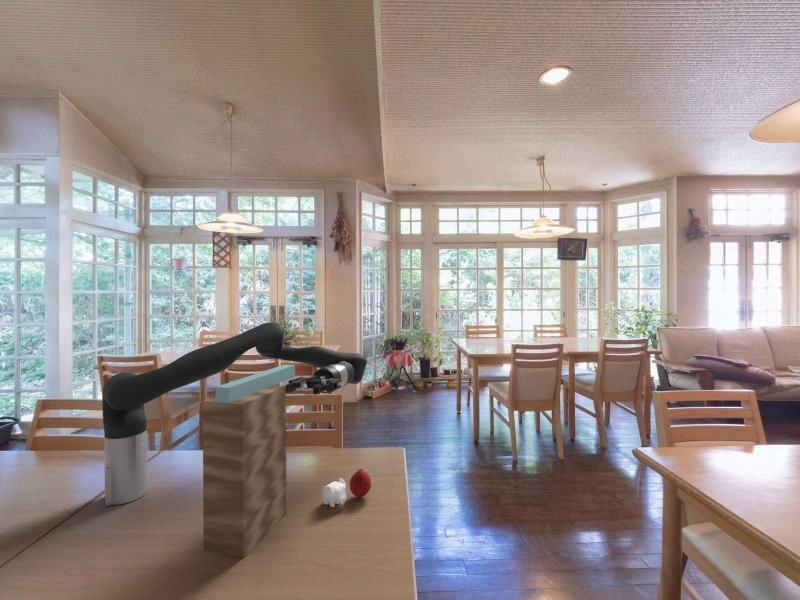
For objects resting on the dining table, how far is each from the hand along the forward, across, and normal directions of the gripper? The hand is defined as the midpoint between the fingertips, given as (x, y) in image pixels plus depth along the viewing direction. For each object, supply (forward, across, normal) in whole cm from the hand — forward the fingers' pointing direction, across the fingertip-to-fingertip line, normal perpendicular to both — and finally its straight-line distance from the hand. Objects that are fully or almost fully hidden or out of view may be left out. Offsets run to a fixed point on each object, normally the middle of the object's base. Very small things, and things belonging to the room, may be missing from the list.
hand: (300, 390), depth 96 cm
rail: (+9, -5, -2) cm, 11 cm away
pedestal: (+14, -6, +30) cm, 33 cm away
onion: (-7, +13, +30) cm, 34 cm away
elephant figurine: (-2, +8, +30) cm, 31 cm away
